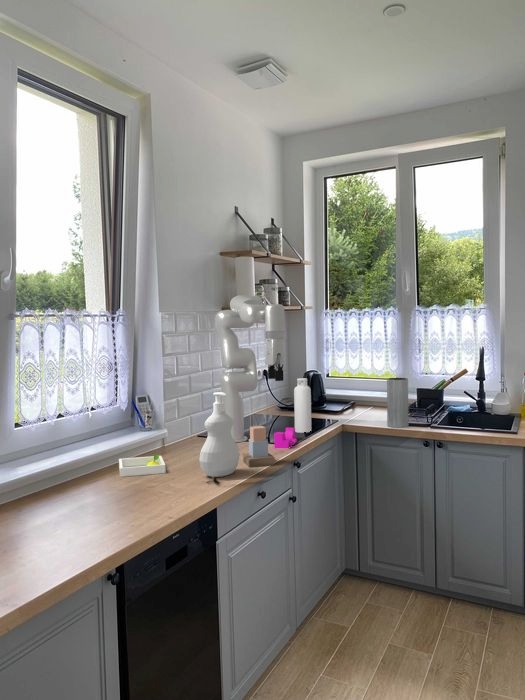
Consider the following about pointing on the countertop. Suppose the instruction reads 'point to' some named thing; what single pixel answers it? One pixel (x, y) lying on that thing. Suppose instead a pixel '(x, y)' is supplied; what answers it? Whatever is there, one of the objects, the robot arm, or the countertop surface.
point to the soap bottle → (219, 443)
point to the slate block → (258, 448)
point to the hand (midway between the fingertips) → (275, 379)
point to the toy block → (285, 438)
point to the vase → (397, 403)
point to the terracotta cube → (257, 433)
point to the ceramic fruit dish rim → (140, 469)
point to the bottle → (302, 406)
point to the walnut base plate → (258, 460)
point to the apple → (153, 461)
